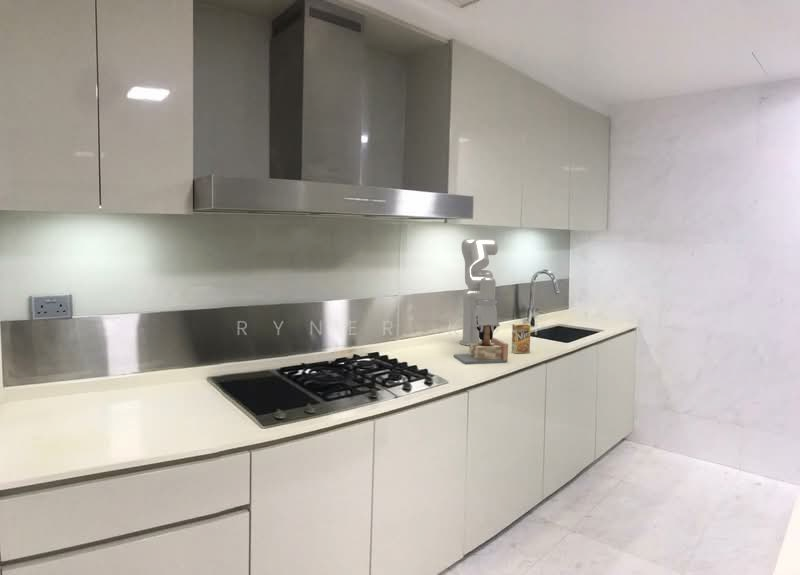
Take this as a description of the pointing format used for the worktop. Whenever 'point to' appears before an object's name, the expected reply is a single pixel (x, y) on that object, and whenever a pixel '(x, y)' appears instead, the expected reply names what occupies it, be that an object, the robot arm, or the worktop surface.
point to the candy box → (521, 338)
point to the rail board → (471, 360)
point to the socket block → (485, 351)
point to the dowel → (486, 336)
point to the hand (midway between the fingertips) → (485, 339)
